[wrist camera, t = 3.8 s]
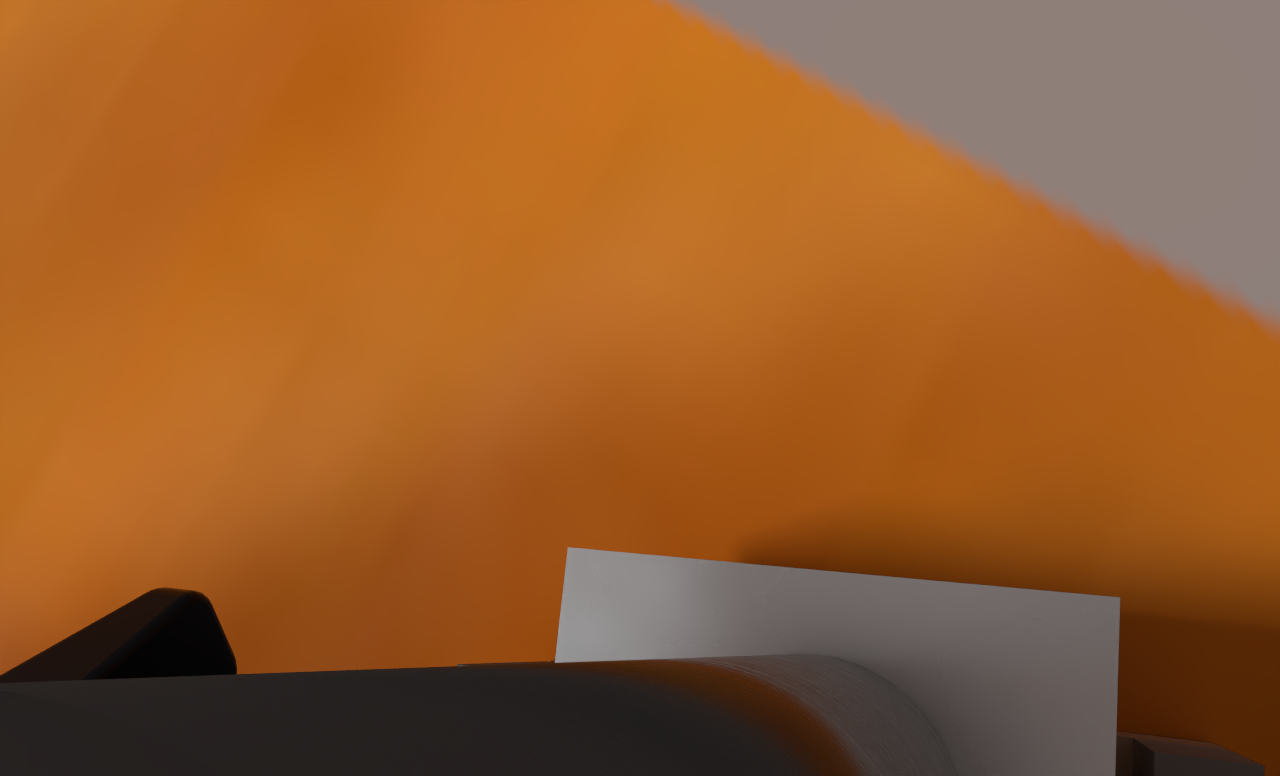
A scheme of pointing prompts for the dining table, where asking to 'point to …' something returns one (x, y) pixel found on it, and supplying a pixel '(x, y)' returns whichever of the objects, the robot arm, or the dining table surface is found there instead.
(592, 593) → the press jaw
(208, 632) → the robot arm
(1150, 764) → the press base
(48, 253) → the dining table surface
